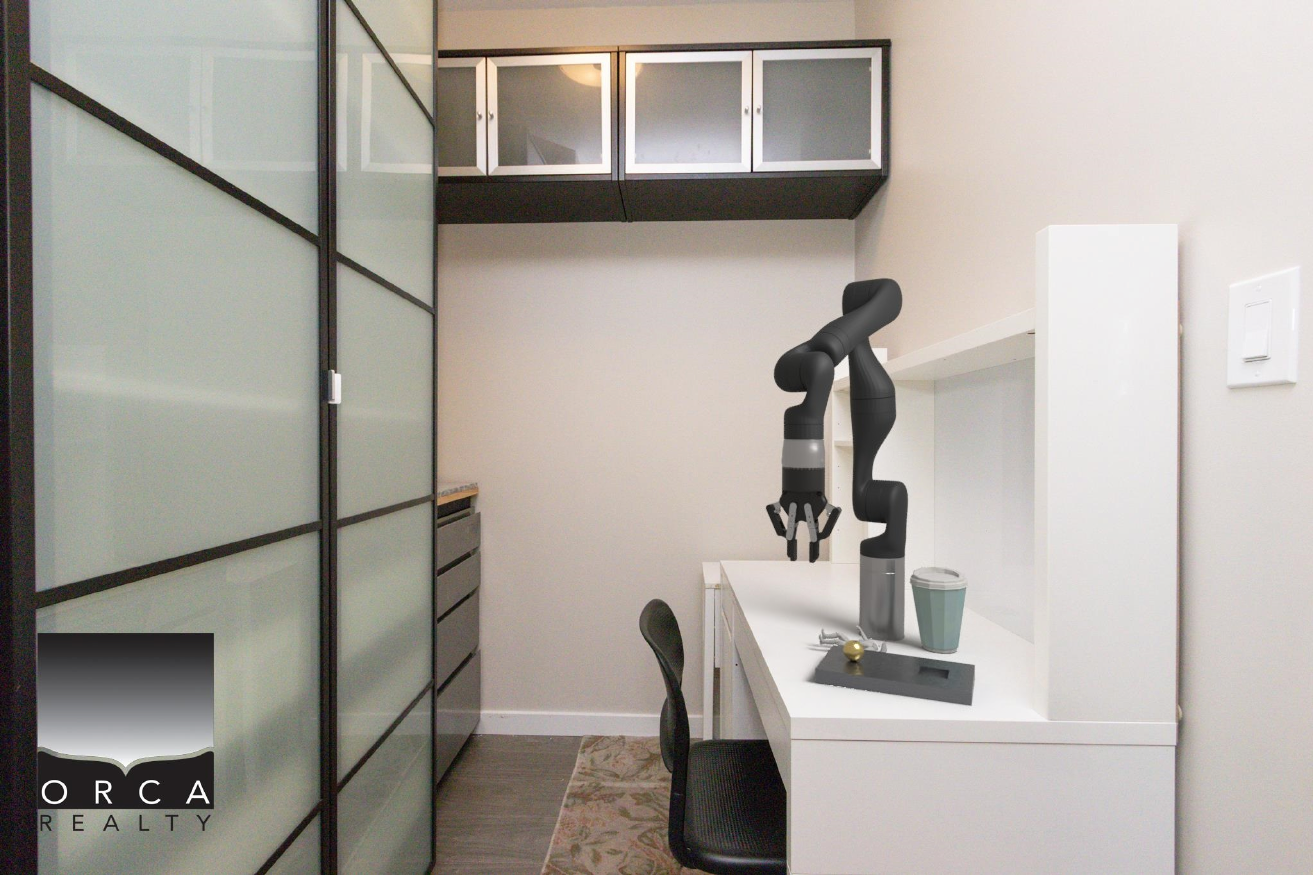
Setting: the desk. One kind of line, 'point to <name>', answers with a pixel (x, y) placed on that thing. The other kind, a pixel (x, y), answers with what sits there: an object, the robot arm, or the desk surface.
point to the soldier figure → (844, 639)
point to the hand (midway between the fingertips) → (802, 560)
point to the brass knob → (853, 650)
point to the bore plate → (899, 675)
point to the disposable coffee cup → (939, 607)
